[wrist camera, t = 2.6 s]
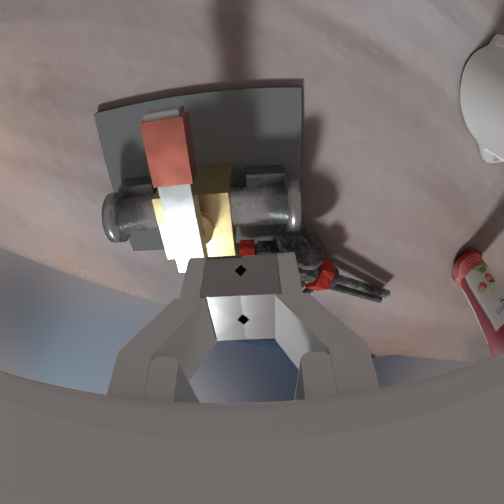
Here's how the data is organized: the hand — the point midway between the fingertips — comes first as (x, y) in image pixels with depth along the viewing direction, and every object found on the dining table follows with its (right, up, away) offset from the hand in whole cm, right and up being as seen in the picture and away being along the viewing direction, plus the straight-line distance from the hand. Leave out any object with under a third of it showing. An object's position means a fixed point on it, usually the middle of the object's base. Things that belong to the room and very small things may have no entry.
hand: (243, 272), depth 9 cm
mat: (-5, +9, +24) cm, 26 cm away
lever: (-5, +6, +15) cm, 17 cm away
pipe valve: (-5, +8, +25) cm, 27 cm away
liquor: (+37, -1, +33) cm, 49 cm away
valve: (+9, -3, +33) cm, 35 cm away
